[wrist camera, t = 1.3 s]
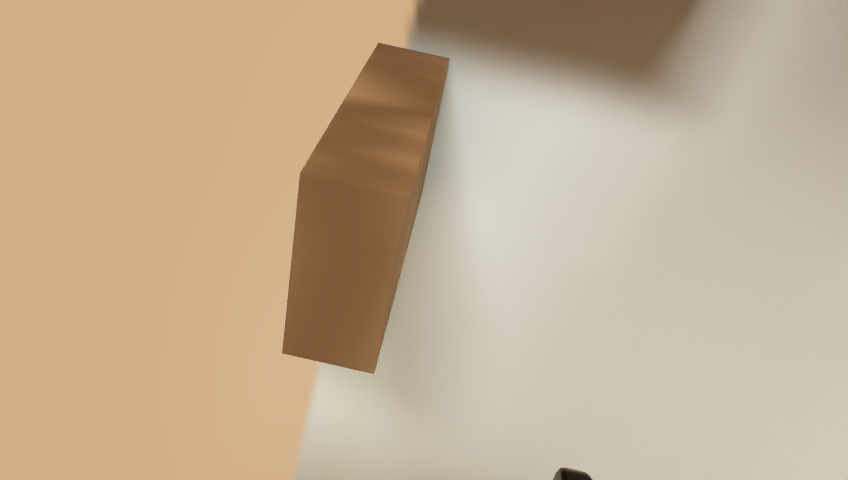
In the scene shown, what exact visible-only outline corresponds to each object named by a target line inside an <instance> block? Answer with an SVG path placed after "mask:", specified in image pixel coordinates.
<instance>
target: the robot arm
mask: <svg viewBox="0 0 848 480" xmlns="http://www.w3.org/2000/svg"><path fill="white" fill-rule="evenodd" d="M553 480H592V479H591V477H590V476H589V475H588V474H587V473H585V472H582V471H578V470H573V469H569V468H560V469H559V470H558V471H557V472H556V474H555V477H554V479H553Z"/></svg>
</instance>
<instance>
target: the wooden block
mask: <svg viewBox="0 0 848 480" xmlns="http://www.w3.org/2000/svg"><path fill="white" fill-rule="evenodd" d="M448 64H449V58H444V57H440V56H435V55H431V54H426V53H422V52H417V51H413V50H408V49H404V48H399V47H394V46H390V45H385V44H381V43H378V45H377V47H376V48H375V50H374V51H373V53H372V55H371V56H370V58H369V60H368V61H367V63H366V65H365V66H364V68H363V70H362V71H361V73H360V75H359V76H358V78H357V80H356V81H355V83H354V85H353V86H352V88H351V90H350V91H349V93H348V95H347V96H346V98H345V100H344V101H343V103H342V105H341V106H340V108H339V110H338V111H337V113H336V114H335V116H334V118H333V119H332V121H331V123H330V124H329V126H328V128H327V130H326V131H325V133H324V134H323V136H322V138H321V139H320V141H319V143H318V144H317V146H316V148H315V150H314V151H313V153H312V154H311V156H310V158H309V160H308V161H307V163H306V165H305V166H304V168H303V169H302V171H301V173H300V180H299V190H298V200H297V211H296V221H295V231H294V241H293V252H292V261H291V271H290V281H289V292H288V301H287V312H286V321H285V331H284V343H283V352H282V353H283V354H288V355H293V356H297V357H301V358H306V359H310V360H315V361H319V362H324V363H328V364H332V365H337V366H341V367H346V368H350V369H355V370H359V371H364V372H368V373H373V374H374V371H375V368H376V364H377V360H378V356H379V353H380V349H381V345H382V341H383V337H384V334H385V330H386V326H387V322H388V319H389V315H390V311H391V307H392V303H393V300H394V296H395V292H396V288H397V285H398V281H399V277H400V273H401V270H402V266H403V262H404V258H405V254H406V251H407V247H408V243H409V239H410V236H411V232H412V228H413V224H414V221H415V217H416V213H417V209H418V205H419V202H420V198H421V194H422V189H423V184H424V179H425V174H426V170H427V165H428V160H429V155H430V151H431V146H432V141H433V136H434V131H435V127H436V122H437V117H438V112H439V107H440V103H441V98H442V93H443V88H444V83H445V79H446V74H447V69H448Z"/></svg>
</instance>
